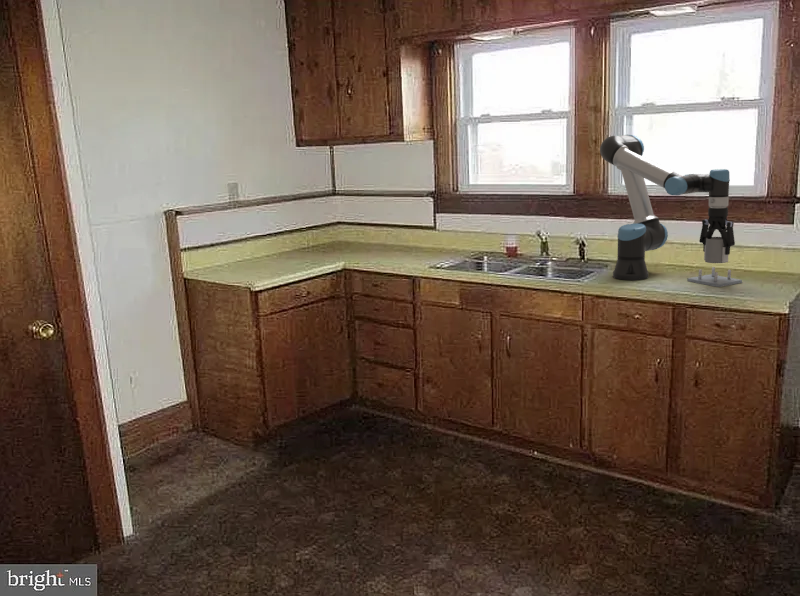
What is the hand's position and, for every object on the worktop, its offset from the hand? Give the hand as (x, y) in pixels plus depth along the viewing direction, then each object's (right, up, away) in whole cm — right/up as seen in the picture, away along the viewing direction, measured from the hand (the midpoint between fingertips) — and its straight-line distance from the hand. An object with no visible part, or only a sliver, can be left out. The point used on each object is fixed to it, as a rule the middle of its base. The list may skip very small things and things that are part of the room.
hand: (715, 260), depth 299 cm
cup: (0, -1, 0) cm, 1 cm away
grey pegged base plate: (0, -9, +2) cm, 9 cm away
